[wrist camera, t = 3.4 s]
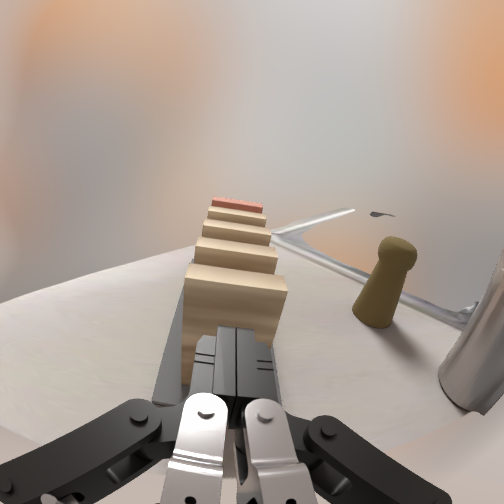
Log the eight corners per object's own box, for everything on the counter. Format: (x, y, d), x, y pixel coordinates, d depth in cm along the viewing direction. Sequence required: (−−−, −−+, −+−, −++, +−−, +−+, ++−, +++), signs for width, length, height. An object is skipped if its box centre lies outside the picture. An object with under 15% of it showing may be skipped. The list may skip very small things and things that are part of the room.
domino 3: (251, 324, 28) (271, 235, 24) (193, 316, 28) (203, 225, 23) (250, 313, 30) (269, 228, 26) (196, 306, 29) (205, 218, 25)
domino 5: (256, 392, 20) (287, 291, 16) (181, 384, 19) (184, 277, 15) (254, 376, 22) (283, 276, 18) (184, 368, 21) (189, 262, 17)
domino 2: (249, 299, 32) (266, 219, 28) (198, 293, 32) (208, 210, 28) (248, 291, 34) (264, 214, 30) (200, 285, 33) (210, 205, 29)
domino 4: (253, 354, 24) (278, 257, 20) (188, 346, 23) (195, 245, 19) (252, 341, 26) (275, 247, 22) (190, 333, 25) (198, 236, 21)
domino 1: (248, 280, 36) (262, 207, 32) (203, 274, 36) (212, 199, 32) (247, 273, 38) (261, 203, 34) (204, 267, 37) (213, 196, 33)
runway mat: (281, 416, 18) (283, 413, 18) (151, 403, 17) (151, 400, 17) (260, 271, 40) (260, 268, 40) (192, 261, 39) (192, 258, 39)
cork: (380, 334, 30) (417, 254, 26) (344, 310, 34) (373, 232, 30) (396, 317, 34) (428, 247, 30) (364, 297, 38) (390, 229, 34)
